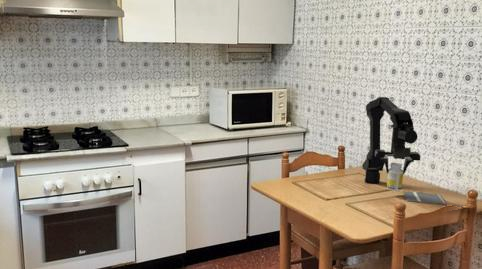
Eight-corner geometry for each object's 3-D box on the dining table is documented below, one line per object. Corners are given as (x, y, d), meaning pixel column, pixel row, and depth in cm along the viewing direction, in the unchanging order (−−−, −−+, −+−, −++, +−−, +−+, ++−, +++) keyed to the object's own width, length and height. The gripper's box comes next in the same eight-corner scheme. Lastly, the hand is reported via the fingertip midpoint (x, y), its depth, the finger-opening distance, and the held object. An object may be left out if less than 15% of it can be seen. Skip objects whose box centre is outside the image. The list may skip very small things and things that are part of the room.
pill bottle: (401, 188, 211) (404, 163, 209) (401, 191, 205) (404, 166, 203) (386, 186, 213) (388, 161, 211) (386, 190, 207) (388, 164, 205)
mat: (407, 201, 202) (407, 199, 202) (402, 192, 215) (402, 190, 215) (446, 204, 199) (446, 203, 199) (439, 195, 212) (439, 194, 212)
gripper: (378, 140, 199) (375, 176, 202) (424, 144, 196) (420, 180, 198) (376, 136, 210) (373, 170, 213) (419, 139, 206) (416, 173, 209)
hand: (395, 173), depth 208 cm, fingers closed on pill bottle, 6 cm apart
